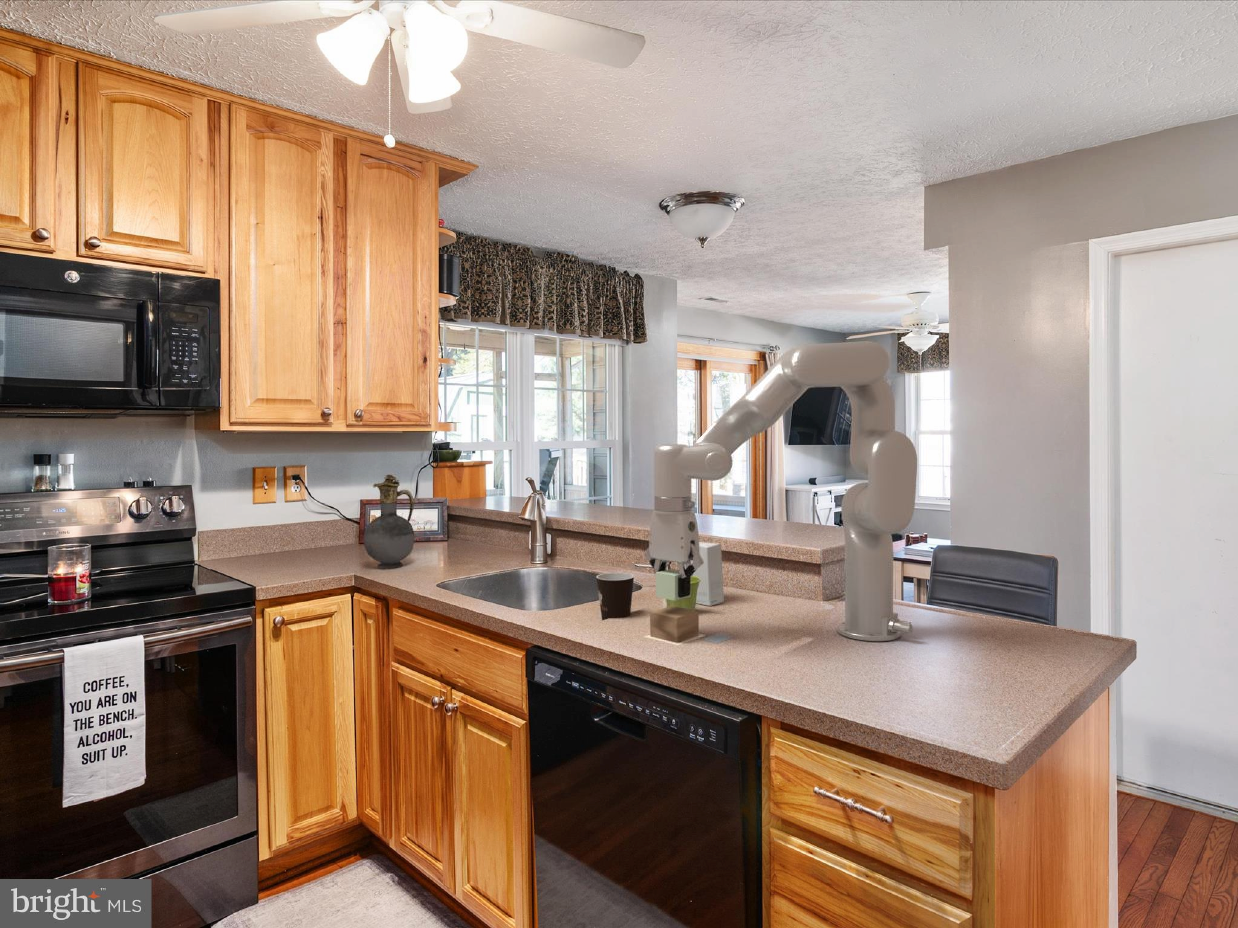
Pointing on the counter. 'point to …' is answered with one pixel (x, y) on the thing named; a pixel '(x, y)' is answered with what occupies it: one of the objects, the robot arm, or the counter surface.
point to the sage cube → (668, 584)
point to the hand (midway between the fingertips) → (673, 593)
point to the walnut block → (674, 624)
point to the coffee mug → (615, 594)
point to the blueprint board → (714, 638)
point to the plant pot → (688, 601)
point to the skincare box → (710, 575)
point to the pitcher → (390, 528)
